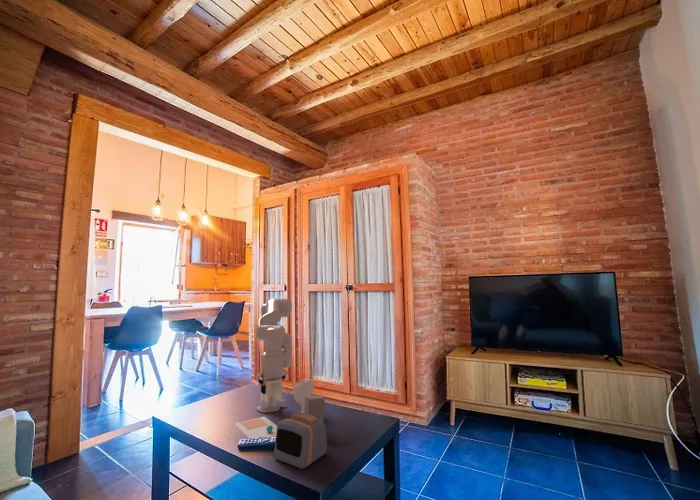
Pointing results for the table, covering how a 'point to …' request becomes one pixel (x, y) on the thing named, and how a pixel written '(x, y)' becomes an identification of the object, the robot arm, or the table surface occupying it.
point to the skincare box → (315, 406)
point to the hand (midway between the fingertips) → (271, 391)
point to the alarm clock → (300, 440)
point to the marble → (269, 428)
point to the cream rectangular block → (272, 389)
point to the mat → (257, 427)
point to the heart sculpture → (303, 391)
